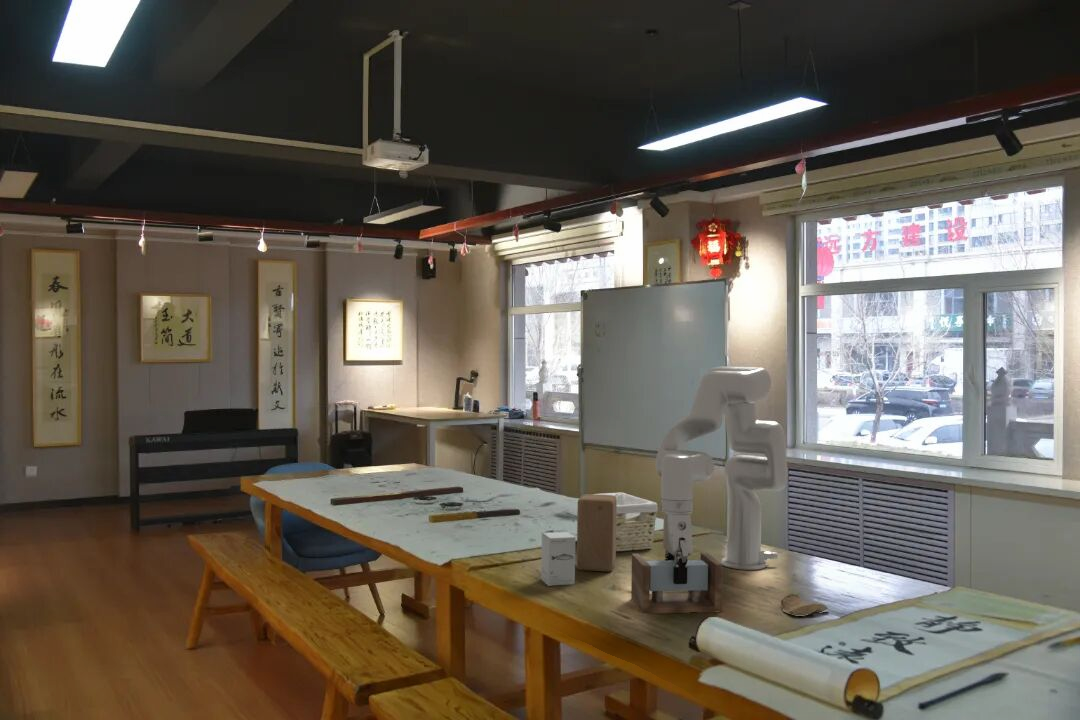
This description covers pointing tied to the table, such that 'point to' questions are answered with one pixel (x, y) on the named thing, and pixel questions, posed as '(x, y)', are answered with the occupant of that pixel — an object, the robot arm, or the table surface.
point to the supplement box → (558, 558)
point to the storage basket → (634, 522)
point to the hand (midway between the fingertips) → (675, 578)
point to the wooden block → (596, 532)
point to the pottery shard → (800, 605)
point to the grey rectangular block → (664, 576)
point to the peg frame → (676, 601)
